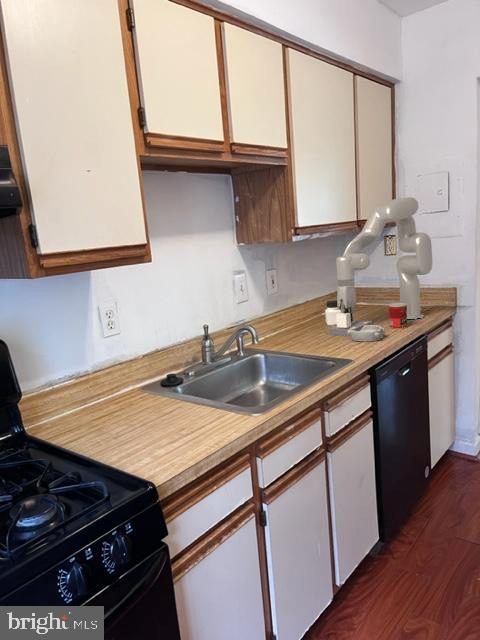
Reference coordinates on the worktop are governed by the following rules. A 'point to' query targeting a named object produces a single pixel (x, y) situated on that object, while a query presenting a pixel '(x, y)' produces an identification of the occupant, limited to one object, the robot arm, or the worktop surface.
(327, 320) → the medicine bottle
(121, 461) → the worktop surface
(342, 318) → the block
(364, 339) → the dish
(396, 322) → the canned food
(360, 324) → the breaker panel
